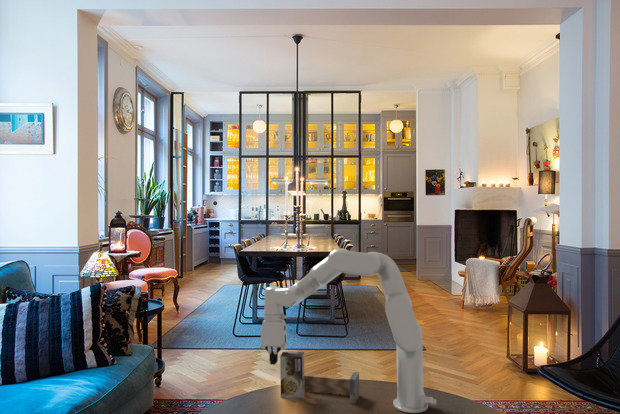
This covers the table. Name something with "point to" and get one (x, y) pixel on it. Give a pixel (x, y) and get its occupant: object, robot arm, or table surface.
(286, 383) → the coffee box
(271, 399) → the table surface
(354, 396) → the book slot
